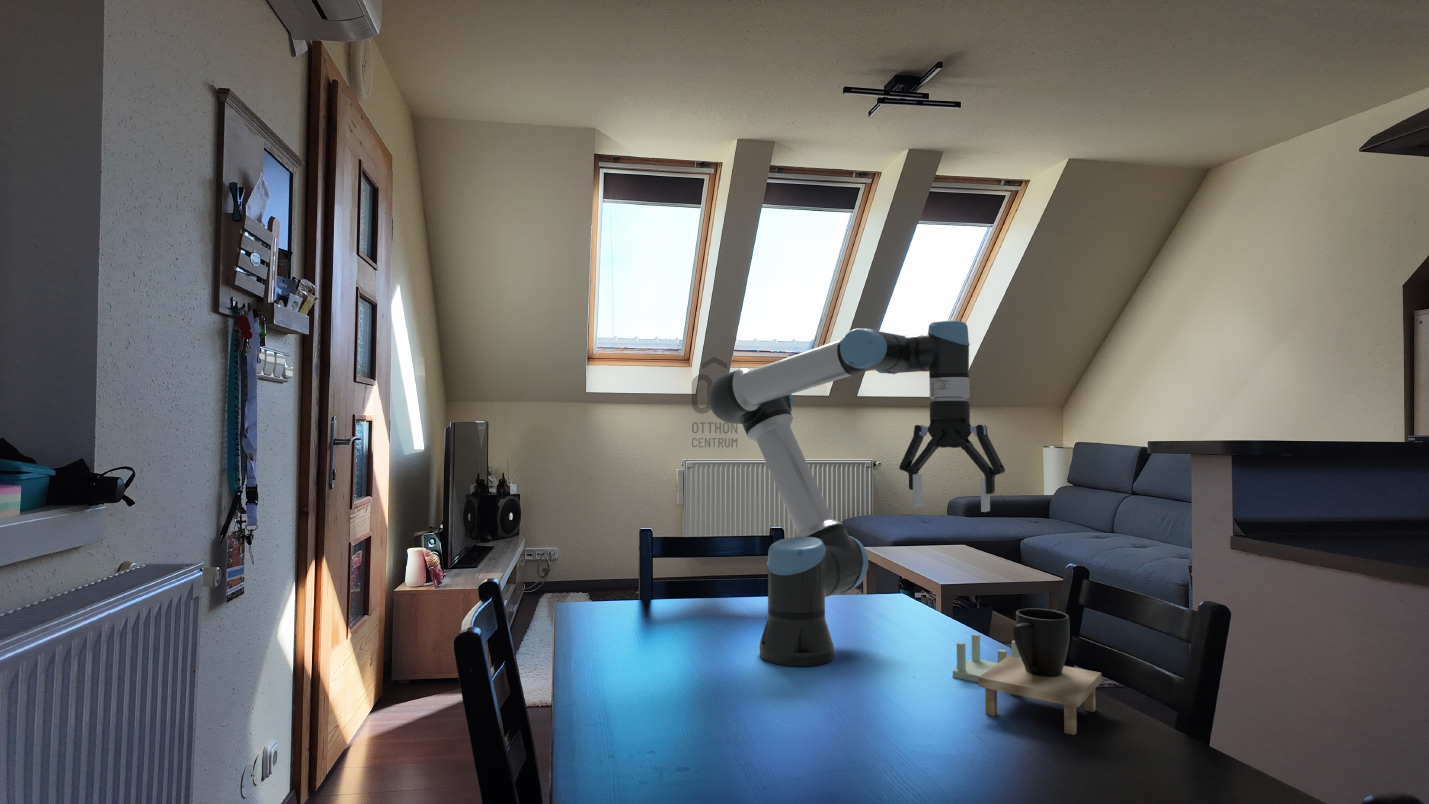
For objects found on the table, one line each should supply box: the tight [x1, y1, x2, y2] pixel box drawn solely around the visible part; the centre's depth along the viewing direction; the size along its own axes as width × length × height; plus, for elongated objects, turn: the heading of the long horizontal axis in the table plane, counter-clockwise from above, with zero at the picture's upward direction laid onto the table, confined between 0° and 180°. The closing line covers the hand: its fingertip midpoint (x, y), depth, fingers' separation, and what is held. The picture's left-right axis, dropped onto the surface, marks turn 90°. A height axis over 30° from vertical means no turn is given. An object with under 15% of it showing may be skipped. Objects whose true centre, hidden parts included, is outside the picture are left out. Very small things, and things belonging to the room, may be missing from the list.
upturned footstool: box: [952, 633, 1021, 684], centre depth 143 cm, size 10×10×6 cm
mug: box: [1012, 607, 1071, 677], centre depth 125 cm, size 8×12×10 cm
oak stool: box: [978, 655, 1102, 736], centre depth 124 cm, size 15×15×6 cm
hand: (950, 509), depth 148 cm, fingers open, 13 cm apart
